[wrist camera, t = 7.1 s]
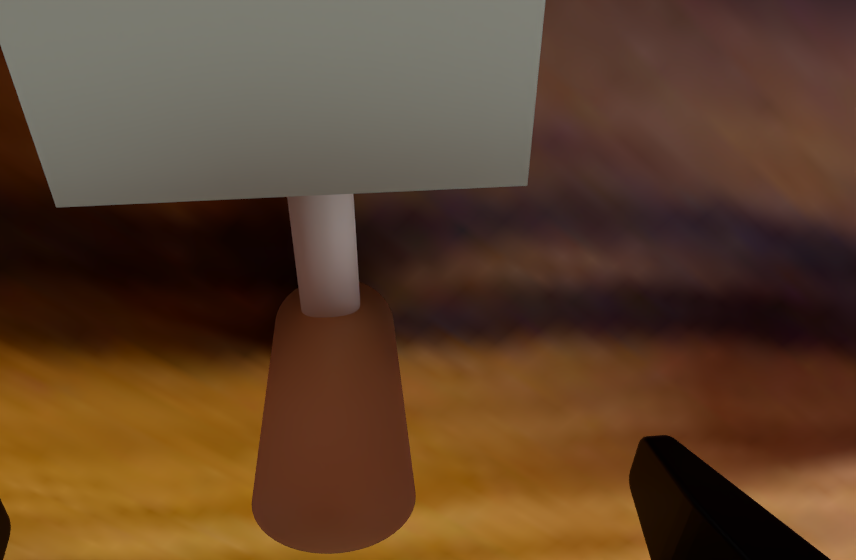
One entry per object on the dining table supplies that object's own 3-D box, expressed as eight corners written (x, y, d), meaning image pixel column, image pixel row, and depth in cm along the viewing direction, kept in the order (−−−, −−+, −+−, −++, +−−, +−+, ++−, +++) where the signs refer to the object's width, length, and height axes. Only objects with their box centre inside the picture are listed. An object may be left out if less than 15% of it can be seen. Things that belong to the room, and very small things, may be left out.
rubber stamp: (448, 347, 13) (492, 537, 10) (226, 363, 13) (181, 569, 9) (466, -259, 8) (582, -366, 4) (89, -269, 8) (-155, -400, 4)
